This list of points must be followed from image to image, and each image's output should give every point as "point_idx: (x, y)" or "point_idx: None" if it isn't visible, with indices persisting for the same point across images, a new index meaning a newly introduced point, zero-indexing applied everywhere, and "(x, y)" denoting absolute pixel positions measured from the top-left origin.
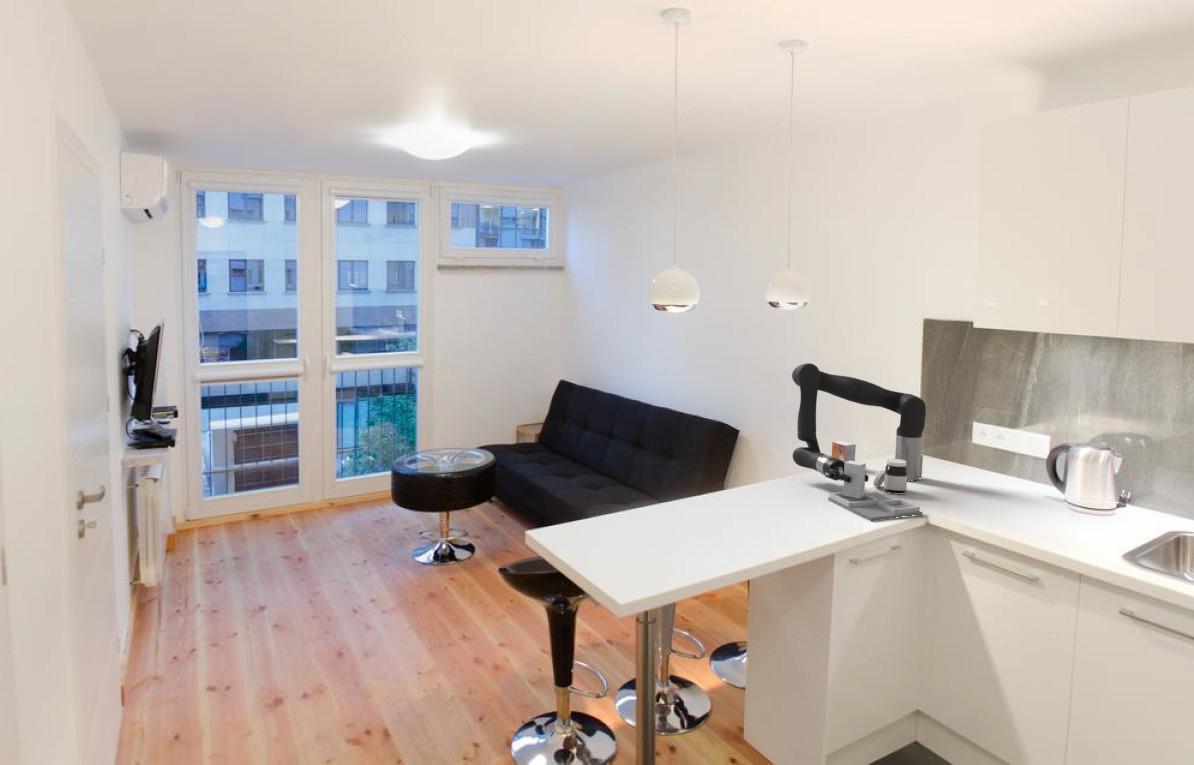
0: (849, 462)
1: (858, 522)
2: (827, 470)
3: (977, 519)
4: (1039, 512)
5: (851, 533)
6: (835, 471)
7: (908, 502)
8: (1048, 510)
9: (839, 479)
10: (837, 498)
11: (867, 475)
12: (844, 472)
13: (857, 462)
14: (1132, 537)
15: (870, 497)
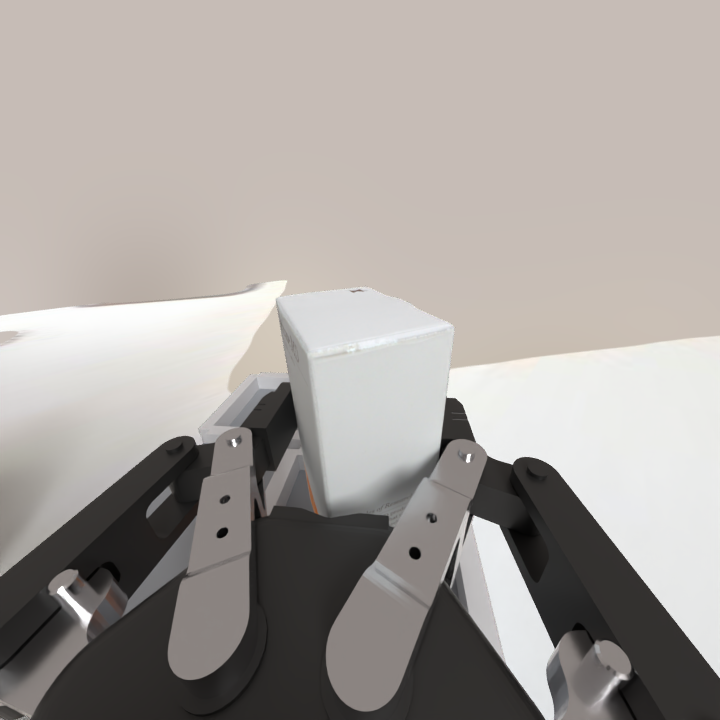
0: (405, 312)
1: (474, 397)
2: (714, 695)
3: (192, 355)
4: (47, 352)
5: (526, 363)
6: (490, 643)
7: (230, 399)
8: (16, 354)
9: (473, 516)
10: (480, 571)
11: (285, 382)
12: (441, 428)
13: (321, 307)
14: (145, 306)
15: (283, 489)
